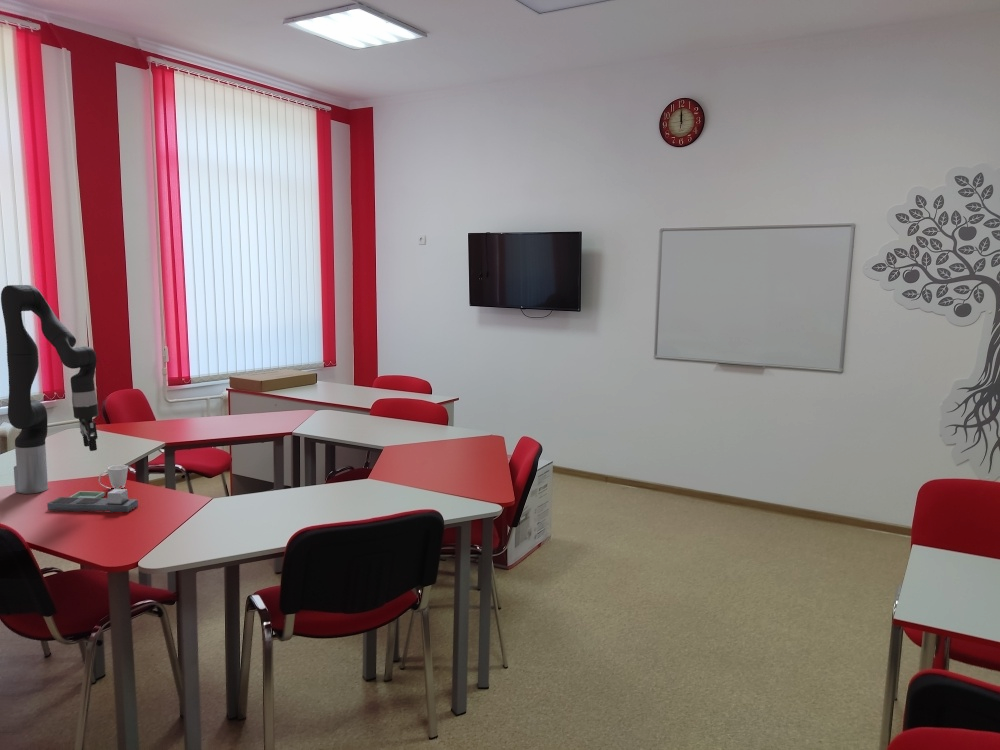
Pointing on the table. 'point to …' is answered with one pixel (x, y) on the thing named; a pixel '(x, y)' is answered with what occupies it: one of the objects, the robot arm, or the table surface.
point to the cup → (116, 476)
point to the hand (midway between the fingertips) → (90, 448)
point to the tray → (89, 494)
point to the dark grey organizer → (89, 504)
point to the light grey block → (117, 497)
